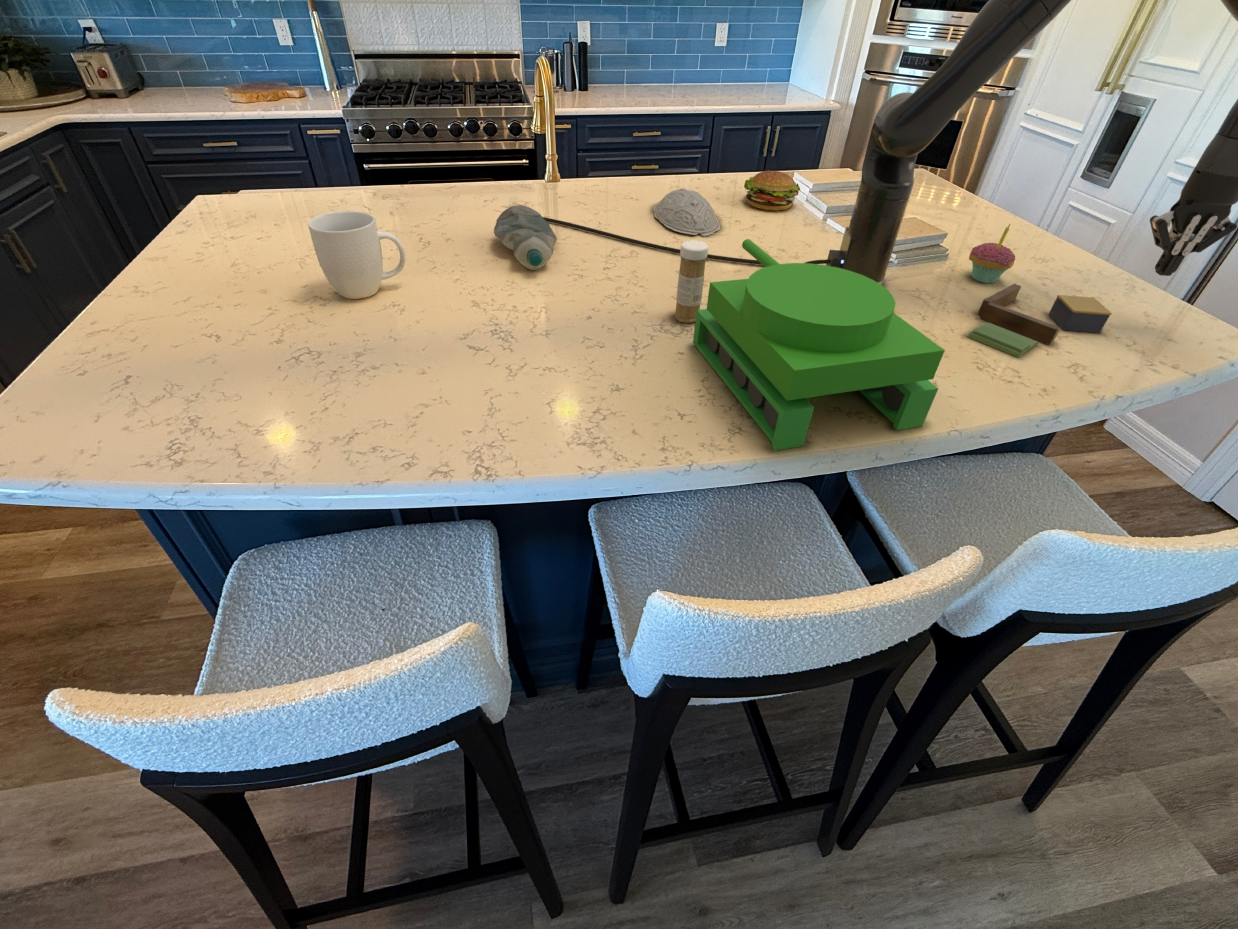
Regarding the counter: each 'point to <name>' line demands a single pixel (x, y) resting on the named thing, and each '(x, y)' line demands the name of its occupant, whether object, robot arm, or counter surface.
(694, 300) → the sprinkles bottle
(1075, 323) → the tea tin
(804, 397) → the tank
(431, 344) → the counter surface
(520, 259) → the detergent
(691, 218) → the grey turtle shell
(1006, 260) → the cupcake
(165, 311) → the counter surface
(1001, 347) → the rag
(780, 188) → the food
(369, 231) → the mug
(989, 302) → the corner guide
